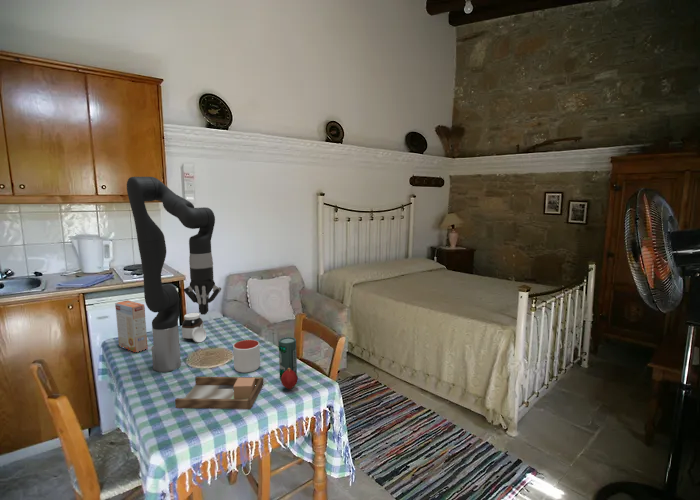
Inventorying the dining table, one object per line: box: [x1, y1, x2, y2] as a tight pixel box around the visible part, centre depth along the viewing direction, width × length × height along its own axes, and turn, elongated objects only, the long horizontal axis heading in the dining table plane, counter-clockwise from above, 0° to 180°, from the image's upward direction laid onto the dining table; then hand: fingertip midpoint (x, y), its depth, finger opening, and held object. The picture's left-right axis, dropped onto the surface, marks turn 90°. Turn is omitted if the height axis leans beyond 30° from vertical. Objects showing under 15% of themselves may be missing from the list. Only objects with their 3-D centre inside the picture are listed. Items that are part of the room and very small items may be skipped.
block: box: [233, 378, 255, 399], centre depth 132 cm, size 6×6×4 cm
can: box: [278, 336, 298, 382], centre depth 143 cm, size 6×6×15 cm
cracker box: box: [114, 299, 149, 353], centre depth 172 cm, size 14×6×21 cm, turn 58°
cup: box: [232, 339, 261, 374], centre depth 152 cm, size 10×10×10 cm
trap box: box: [174, 376, 264, 410], centre depth 131 cm, size 24×16×3 cm, turn 88°
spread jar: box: [181, 312, 207, 343], centre depth 183 cm, size 12×11×12 cm
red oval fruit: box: [280, 368, 299, 391], centre depth 136 cm, size 6×6×8 cm
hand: (204, 313), depth 135 cm, fingers closed
